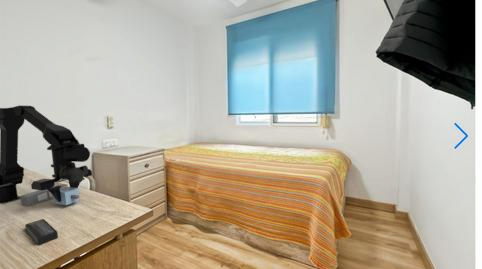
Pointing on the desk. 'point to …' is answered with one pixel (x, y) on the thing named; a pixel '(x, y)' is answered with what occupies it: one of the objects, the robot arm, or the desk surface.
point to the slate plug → (67, 195)
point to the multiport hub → (41, 231)
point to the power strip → (37, 196)
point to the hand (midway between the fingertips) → (66, 199)
